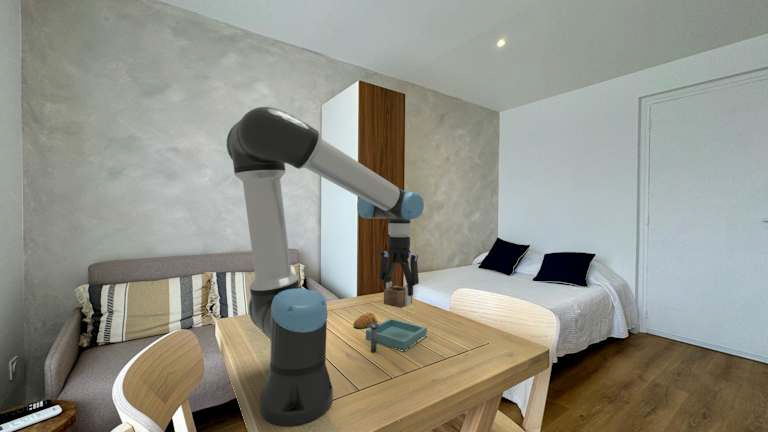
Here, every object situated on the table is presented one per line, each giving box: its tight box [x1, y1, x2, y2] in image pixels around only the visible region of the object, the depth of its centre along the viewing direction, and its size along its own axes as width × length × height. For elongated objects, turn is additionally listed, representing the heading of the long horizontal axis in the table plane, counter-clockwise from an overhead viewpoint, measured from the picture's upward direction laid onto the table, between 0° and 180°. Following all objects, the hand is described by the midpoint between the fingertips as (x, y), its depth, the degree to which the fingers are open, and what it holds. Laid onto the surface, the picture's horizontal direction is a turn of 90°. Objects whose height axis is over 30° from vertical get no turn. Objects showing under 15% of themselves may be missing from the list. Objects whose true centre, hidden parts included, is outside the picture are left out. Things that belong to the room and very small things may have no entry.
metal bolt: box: [369, 322, 380, 354], centre depth 89 cm, size 3×3×8 cm
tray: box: [365, 317, 428, 352], centre depth 100 cm, size 15×15×3 cm
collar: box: [383, 285, 413, 309], centre depth 100 cm, size 7×7×5 cm
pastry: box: [353, 312, 378, 329], centre depth 111 cm, size 9×7×4 cm
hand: (398, 302), depth 100 cm, fingers closed on collar, 7 cm apart
